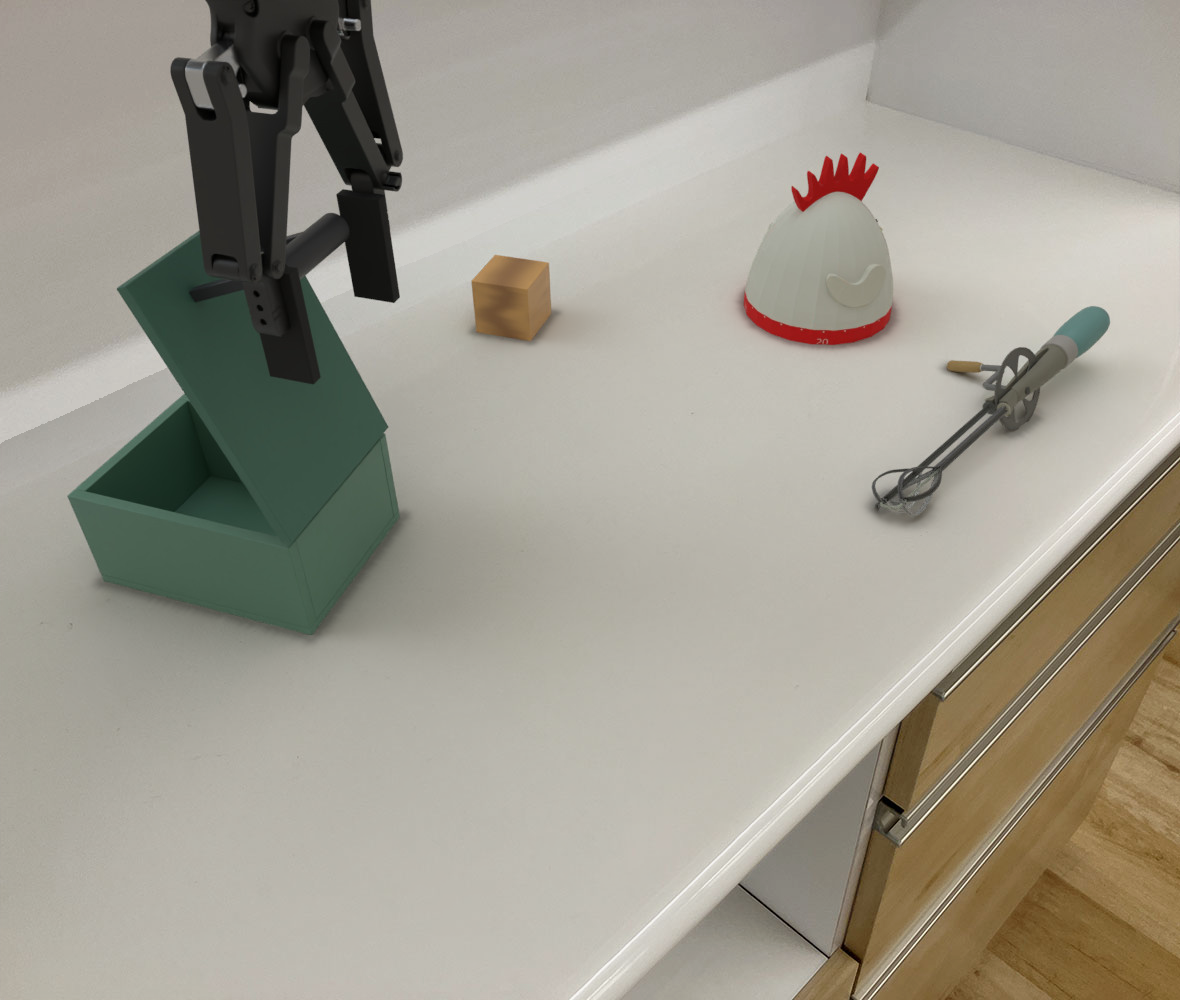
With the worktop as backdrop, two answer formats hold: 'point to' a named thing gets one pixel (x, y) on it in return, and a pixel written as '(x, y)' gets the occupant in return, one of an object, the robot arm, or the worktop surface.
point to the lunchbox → (226, 527)
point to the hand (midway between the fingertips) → (338, 334)
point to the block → (512, 297)
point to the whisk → (1003, 398)
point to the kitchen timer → (824, 263)
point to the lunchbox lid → (260, 378)
